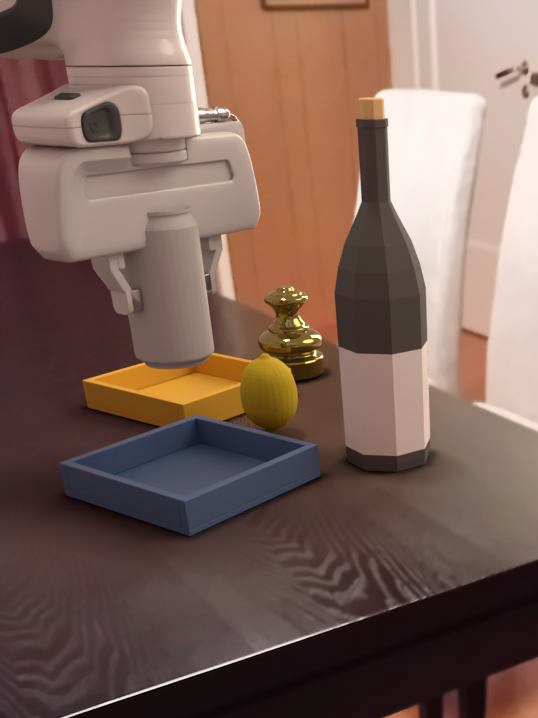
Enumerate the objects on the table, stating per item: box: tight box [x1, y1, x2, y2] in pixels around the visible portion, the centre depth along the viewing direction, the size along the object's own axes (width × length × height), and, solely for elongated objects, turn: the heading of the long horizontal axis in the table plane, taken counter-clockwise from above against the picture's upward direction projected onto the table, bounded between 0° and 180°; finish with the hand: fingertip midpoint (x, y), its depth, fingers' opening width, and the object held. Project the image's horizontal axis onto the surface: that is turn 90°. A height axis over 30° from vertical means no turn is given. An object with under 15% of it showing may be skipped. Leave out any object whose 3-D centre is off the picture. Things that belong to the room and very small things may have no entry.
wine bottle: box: [334, 97, 431, 473], centre depth 88 cm, size 8×8×30 cm
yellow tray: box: [81, 352, 291, 428], centre depth 110 cm, size 16×16×3 cm
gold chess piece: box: [257, 284, 325, 382], centre depth 117 cm, size 7×7×10 cm
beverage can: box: [119, 207, 215, 369], centre depth 81 cm, size 6×6×12 cm
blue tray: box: [58, 415, 321, 537], centre depth 89 cm, size 16×16×3 cm
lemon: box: [240, 353, 299, 434], centre depth 99 cm, size 6×6×8 cm
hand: (167, 303), depth 82 cm, fingers closed on beverage can, 6 cm apart
